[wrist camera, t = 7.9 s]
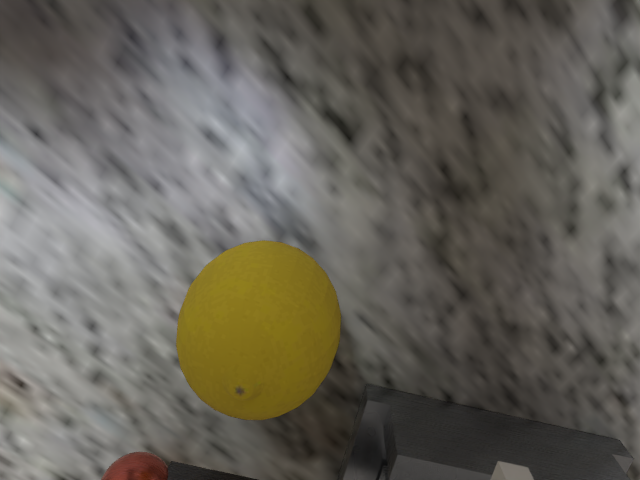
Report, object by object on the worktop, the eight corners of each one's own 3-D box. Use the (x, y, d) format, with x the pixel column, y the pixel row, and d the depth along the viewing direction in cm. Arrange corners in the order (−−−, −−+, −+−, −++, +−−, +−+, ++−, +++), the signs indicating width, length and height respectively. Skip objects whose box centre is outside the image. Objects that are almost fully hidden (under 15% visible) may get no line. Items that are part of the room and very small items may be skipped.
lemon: (198, 226, 21) (117, 312, 13) (331, 208, 21) (325, 287, 13) (225, 344, 23) (167, 480, 15) (349, 330, 22) (353, 462, 15)
